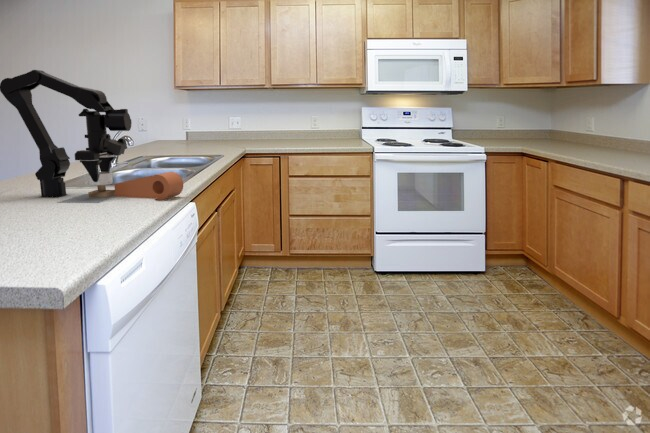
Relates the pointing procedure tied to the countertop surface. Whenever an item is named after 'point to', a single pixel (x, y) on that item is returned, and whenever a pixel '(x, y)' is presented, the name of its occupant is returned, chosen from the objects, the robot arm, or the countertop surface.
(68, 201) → the mat
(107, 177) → the collar
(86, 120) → the robot arm
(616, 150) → the countertop surface
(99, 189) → the tan stamp
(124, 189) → the crank
